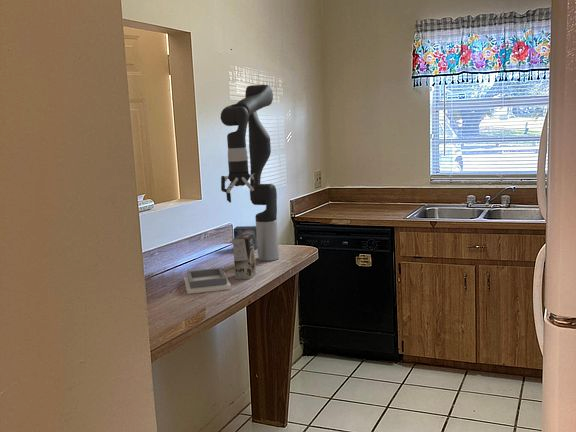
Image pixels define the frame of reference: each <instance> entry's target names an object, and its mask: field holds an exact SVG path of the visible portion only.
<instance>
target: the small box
mask: <svg viewBox="0 0 576 432" xmlns="http://www.w3.org/2000/svg"><path fill="white" fill-rule="evenodd" d="M232 230H233V239H234V238H235V237H237V236H238V235H246V234H253V236H254V251H256V250H258V249H257V233H256V225H249V226H248V225H247V226H246V225H244V226H241V225H240V226H235V227H234V228H233V229H232Z"/></svg>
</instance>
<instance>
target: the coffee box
mask: <svg viewBox="0 0 576 432" xmlns="http://www.w3.org/2000/svg"><path fill="white" fill-rule="evenodd" d="M232 248H233V262H234V263H233V264H234V277H235V280H236V279H237V280H238V279H239V280H250V279H252V278H253V277H254V276H255V275H256V274H257V268H256V266H257V265H256V254H255V251H256V250H254V236H253V234H246V235H238V236H237V237H235V238H234V237H233V238H232Z"/></svg>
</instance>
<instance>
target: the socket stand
mask: <svg viewBox="0 0 576 432" xmlns="http://www.w3.org/2000/svg"><path fill="white" fill-rule="evenodd" d="M186 273H187V276H184V277H183V279H184V285H185V289H186V294H187V295H189V294H190V295H191V294H198V293H208V292H217V291H224V290H231V289H232V284H231V282H230V281H229V279H228V277H227V273H226V272H224V270H223V268H222V267H216V268H206V269H199V270H198V269H197V270H196V269H195V270H187V271H186Z"/></svg>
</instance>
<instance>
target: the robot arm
mask: <svg viewBox="0 0 576 432" xmlns="http://www.w3.org/2000/svg"><path fill="white" fill-rule="evenodd" d="M244 96H245V97H243V98H241V100H238V102H236V103H234V104H231V105H227V106H225V107H224V108H223V109H221V112H220V120H221V123H222V124H223V125H225V126H226V127H234V126H235V127H237V129H236V130H235V131H233V132H229V133H227V135H226V138H227V139H226V141H227V163H228V164H227V165H228V175H221V176H220V191H221V192H223V193H225V194H226V201H227V202H228V203H232V197H231V196H232V195H231V191H232V190H233V188H234V187H239V186H240V187H244V186H246V187H247V188H248V189H249V200H250V201H251V202H250V203H252V205H254V206H265V209H264V210H263V211H261V212H258V213H256V214H255V216H254V217H255V218H254V219H255V226H256V233H257V249H256V250H257V261H261V262H262V261H263V262H269V261H270V262H271V261H275V260H278V259H279V258H280V253H279V237H278V236H279V234H278V220H277V216H278V215H277V214H278V194H277V188H276V185H275V184H273V183H261V179H262V177H261V176H262V173H263V170H264V167H265V166H266V164H267V162H268V161H269V158H270V156H271V151H272V147H271V136H270V135H269V133H268V131H267V130H266V128H265V127H264V125H263V124H262V122H261V121H260V119H259V115H258V112H257V111H259V110H261V109H263V108H266V107H268V106H270V105H272V103H273V100H274V93H273V89H272V87H271V86H270V85H269V84H254V85H253V84H252V85H247V86H246V88H245V94H244ZM247 129H248V149H249V156H248V151H247V141H246V140H247V139H246V137H247V136H246V135H247ZM248 159H249V161H248ZM249 164H250V165H249ZM249 166H250V171H249ZM228 180H229V182H230V183H229V184H228V187H227V188H226V182H227V181H228ZM249 180H250V181H249Z"/></svg>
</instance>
